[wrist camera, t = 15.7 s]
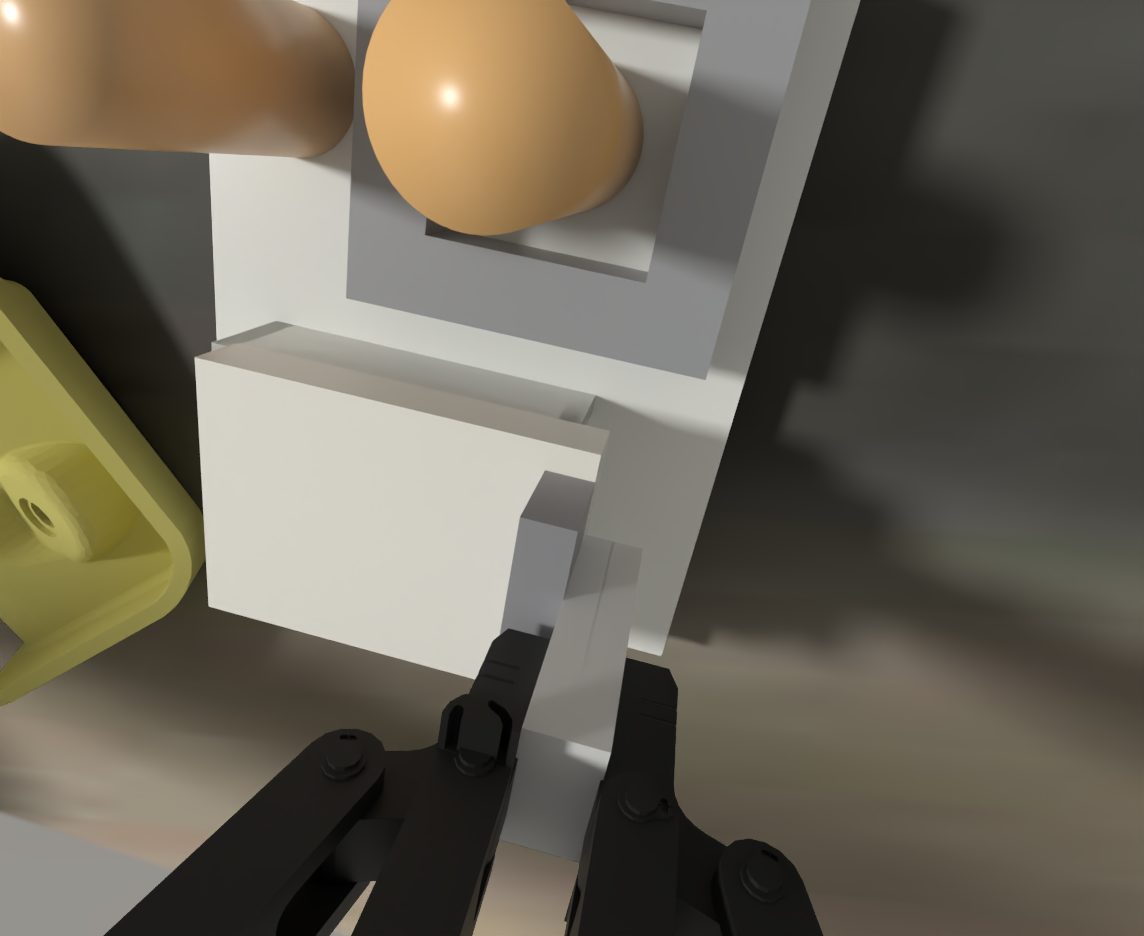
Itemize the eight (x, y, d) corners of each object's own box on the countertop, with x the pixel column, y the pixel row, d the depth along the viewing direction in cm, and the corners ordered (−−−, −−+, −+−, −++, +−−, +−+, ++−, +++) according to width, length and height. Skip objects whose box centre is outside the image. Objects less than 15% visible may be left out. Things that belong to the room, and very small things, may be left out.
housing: (250, 521, 26) (22, 695, 17) (235, -150, 17) (-228, -474, 9) (663, 629, 24) (642, 877, 16) (864, -42, 16) (1055, -300, 7)
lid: (243, 576, 21) (145, 661, 17) (236, 342, 18) (116, 385, 14) (558, 661, 20) (526, 769, 16) (609, 431, 17) (584, 500, 13)
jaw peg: (497, 199, 18) (360, 214, 11) (512, 43, 17) (365, -61, 9) (629, 223, 18) (579, 254, 10) (657, 65, 16) (620, -25, 9)
